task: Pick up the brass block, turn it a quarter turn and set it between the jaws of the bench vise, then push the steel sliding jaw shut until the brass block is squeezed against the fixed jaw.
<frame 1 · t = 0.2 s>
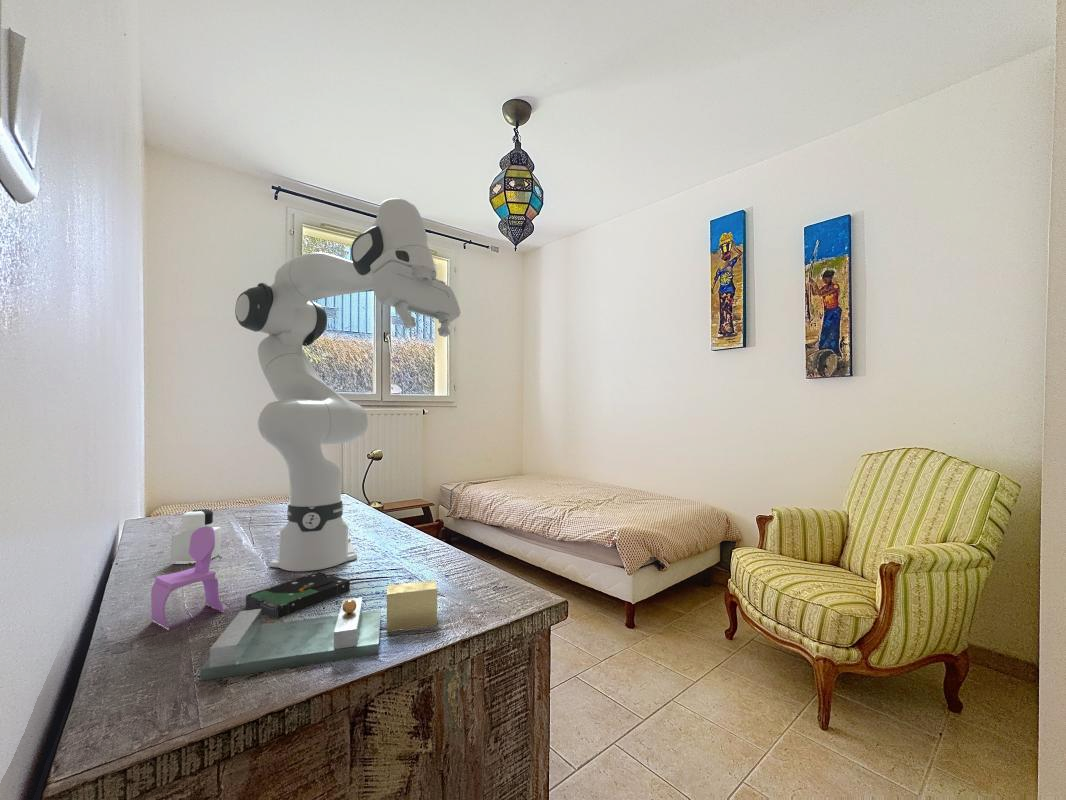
hand: (428, 331, 89), 52 cm above the chest top, tool tilted 20°, fingers open, 8 cm apart
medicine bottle: (196, 560, 109), on the chest top
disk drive: (299, 602, 85), on the chest top
vise: (302, 645, 67), on the chest top
brass block: (411, 623, 75), on the chest top
sliding jaw: (349, 614, 69), point 4 cm above the chest top, slide at 0.0 cm
toy chair: (187, 618, 77), on the chest top
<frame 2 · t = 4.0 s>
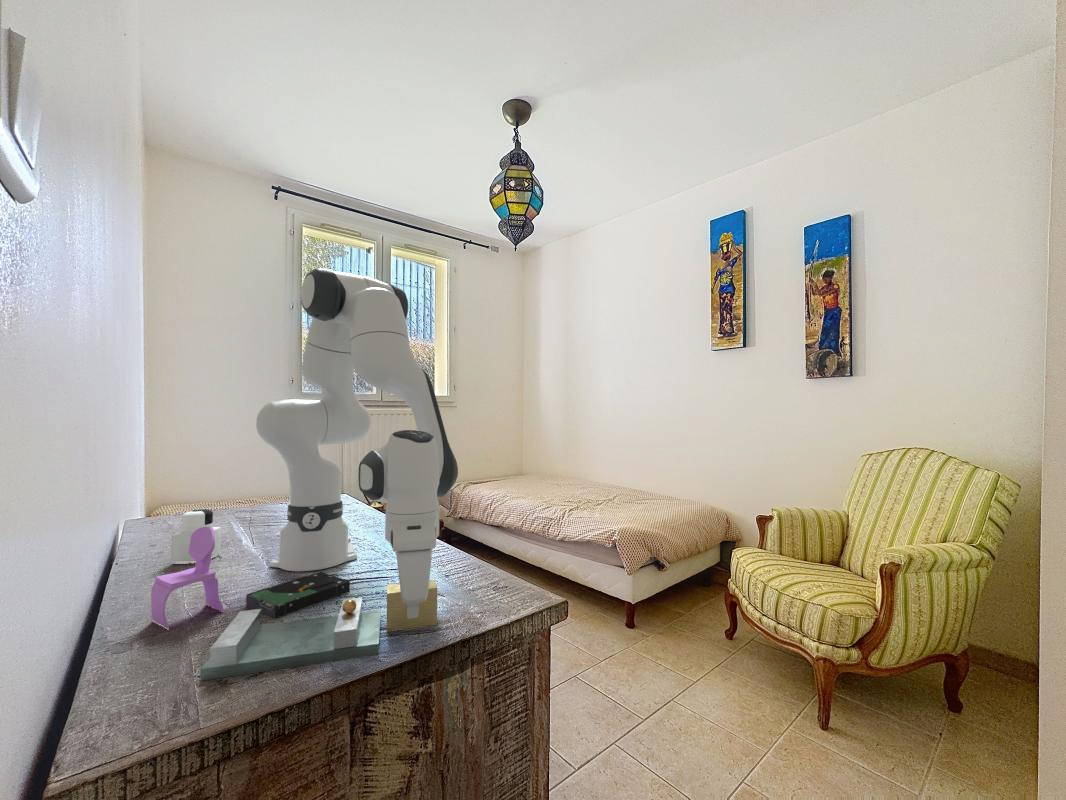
hand: (411, 609, 75), 2 cm above the chest top, tool pointing down, fingers closed on brass block, 4 cm apart
brass block: (411, 622, 75), on the chest top, touching gripper
everything else where it was.
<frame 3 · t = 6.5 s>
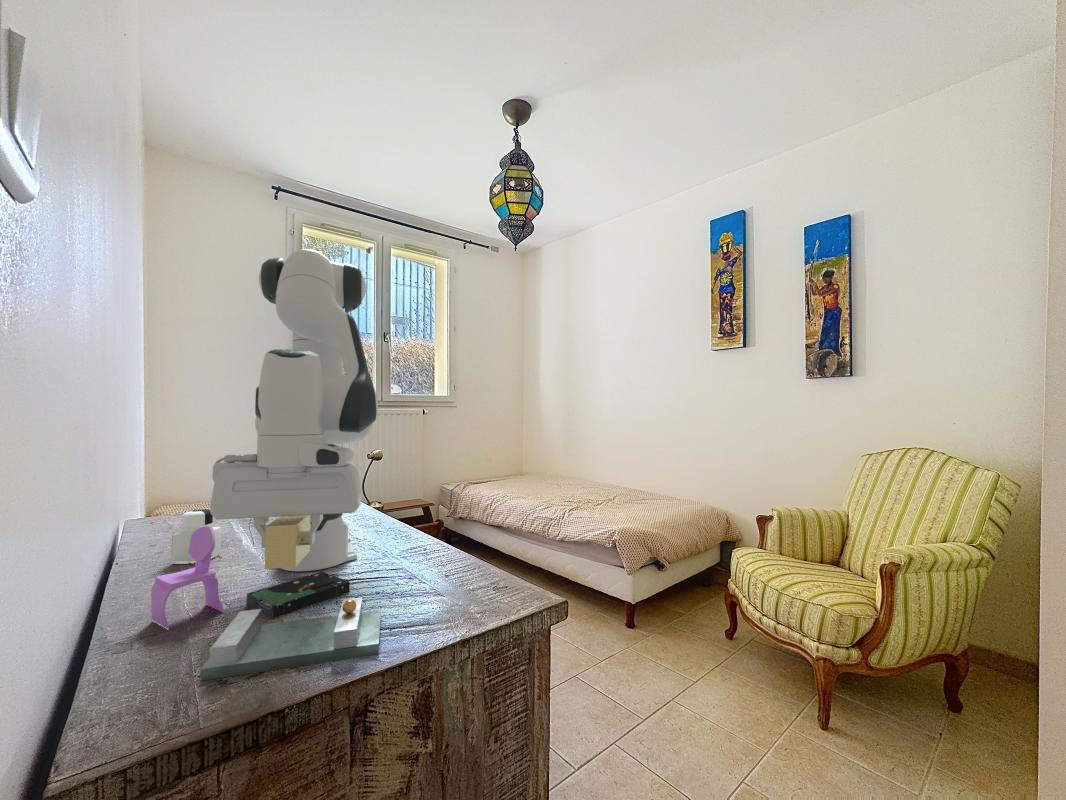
hand: (288, 545, 67), 15 cm above the chest top, tool pointing down, fingers closed on brass block, 4 cm apart
brass block: (288, 559, 67), point 13 cm above the chest top, touching gripper
everything else where it was.
when the fingers open (5 cm above the chest top, at t = 9.0 s): brass block drops 1 cm, resting on vise.
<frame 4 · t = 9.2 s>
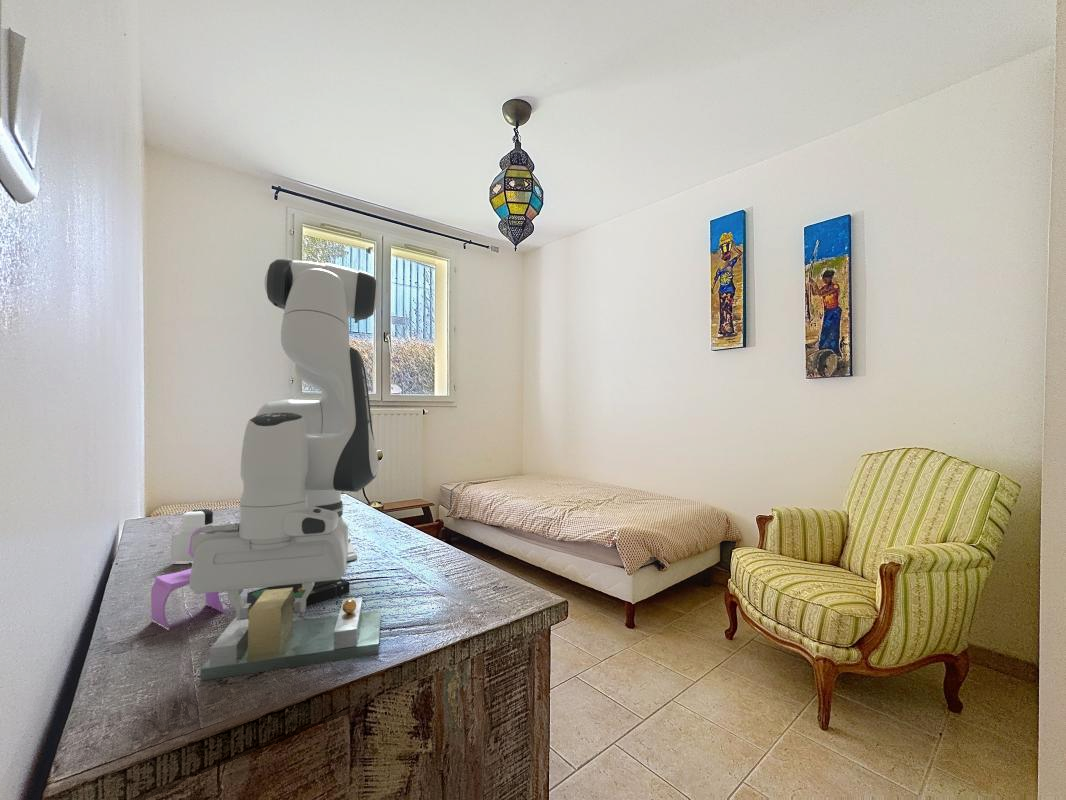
hand: (272, 615, 66), 5 cm above the chest top, tool pointing down, fingers open, 6 cm apart
brass block: (271, 639, 66), point 1 cm above the chest top, touching vise
everything else where it was.
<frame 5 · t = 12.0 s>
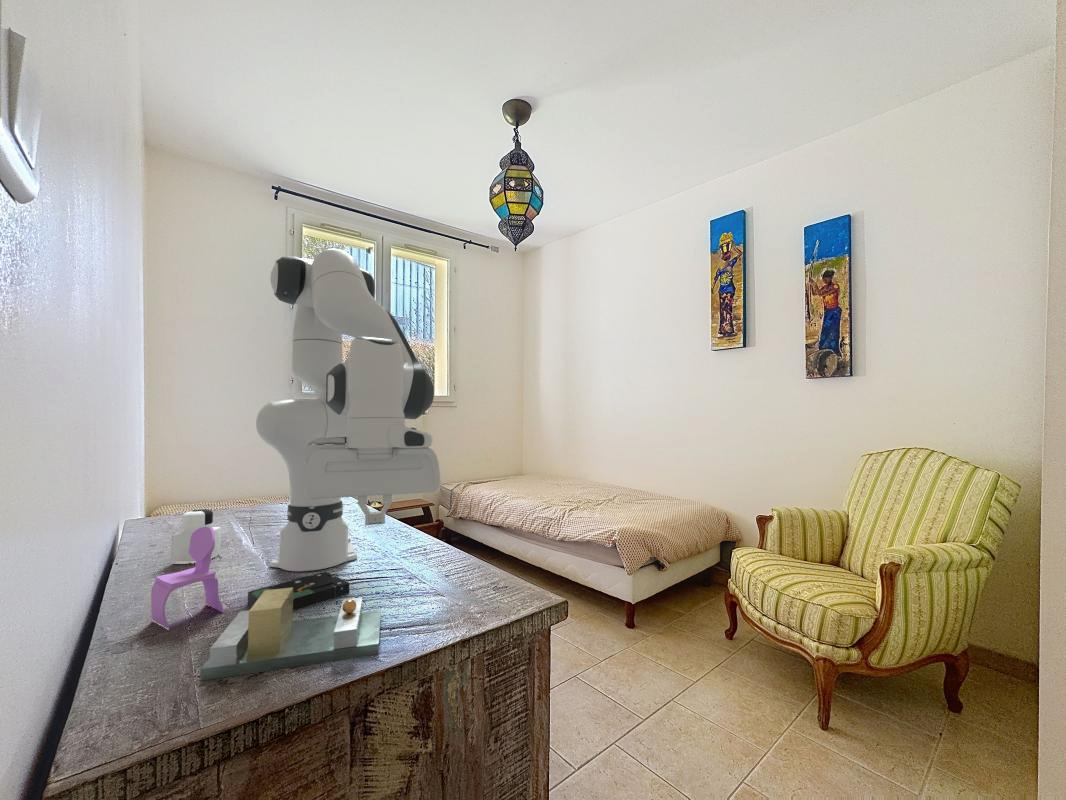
hand: (375, 523, 71), 18 cm above the chest top, tool pointing down, fingers closed
nothing on the chest top moved.
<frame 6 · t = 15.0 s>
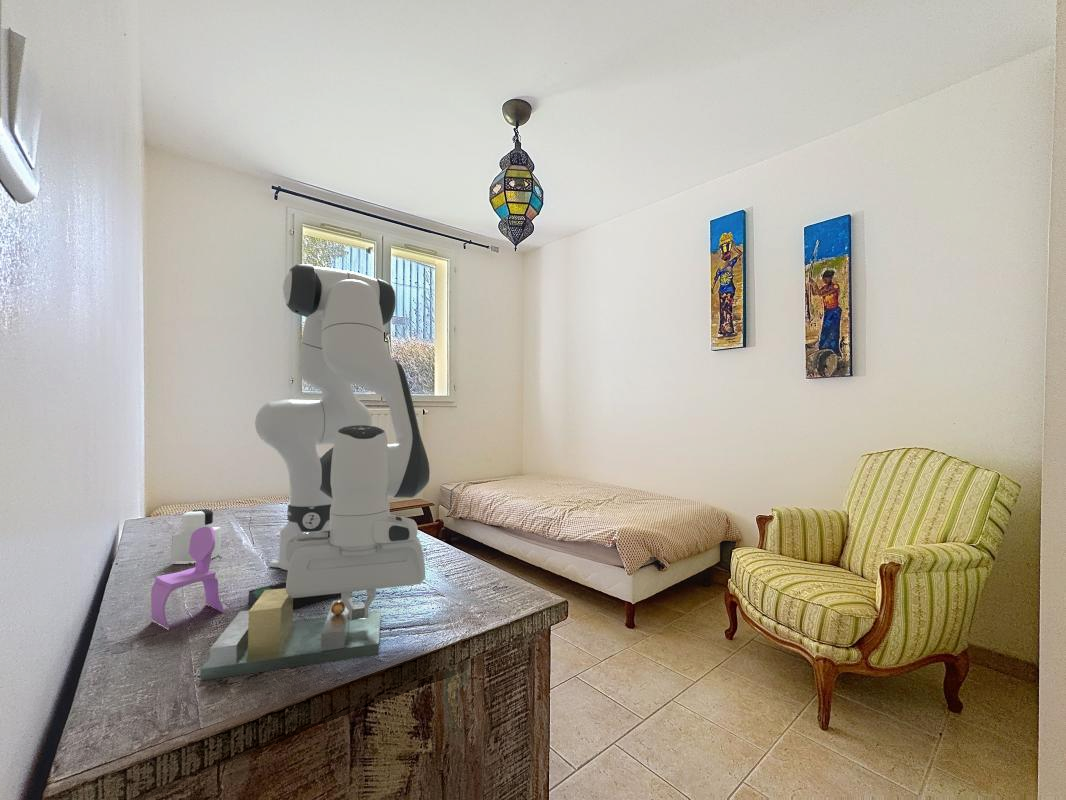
hand: (358, 617, 70), 3 cm above the chest top, tool pointing down, fingers closed
sliding jaw: (338, 615, 69), point 4 cm above the chest top, slide at 1.6 cm, touching gripper
everything else where it was.
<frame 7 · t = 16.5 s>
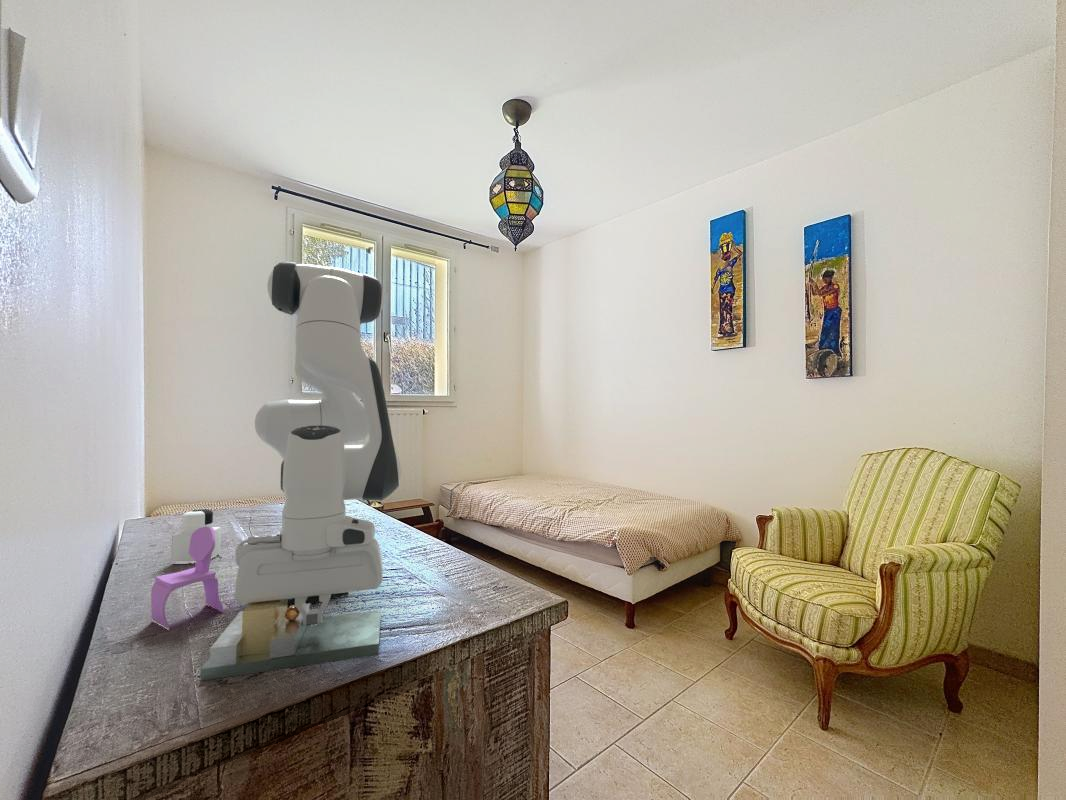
hand: (312, 623, 68), 3 cm above the chest top, tool pointing down, fingers closed
brass block: (265, 640, 66), point 2 cm above the chest top, touching sliding jaw, vise
sliding jaw: (292, 621, 67), point 4 cm above the chest top, slide at 8.0 cm, touching brass block, gripper
everything else where it was.
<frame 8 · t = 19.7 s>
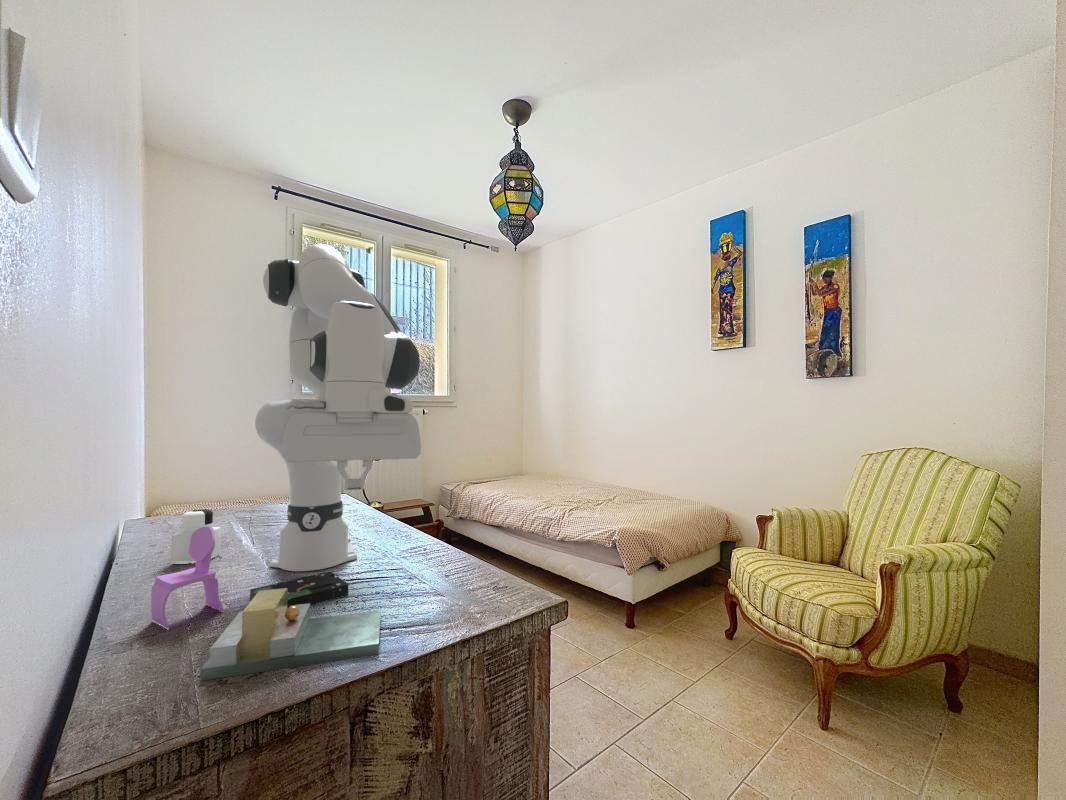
hand: (354, 489, 70), 23 cm above the chest top, tool pointing down, fingers closed
brass block: (265, 640, 66), point 1 cm above the chest top, touching vise
sliding jaw: (292, 621, 67), point 4 cm above the chest top, slide at 8.0 cm
at the end: brass block 0.0 cm from the target spot on the vise, point 1.5 cm above the vise's base; sliding jaw slide at 8.0 cm; brass block tilted 0° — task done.
